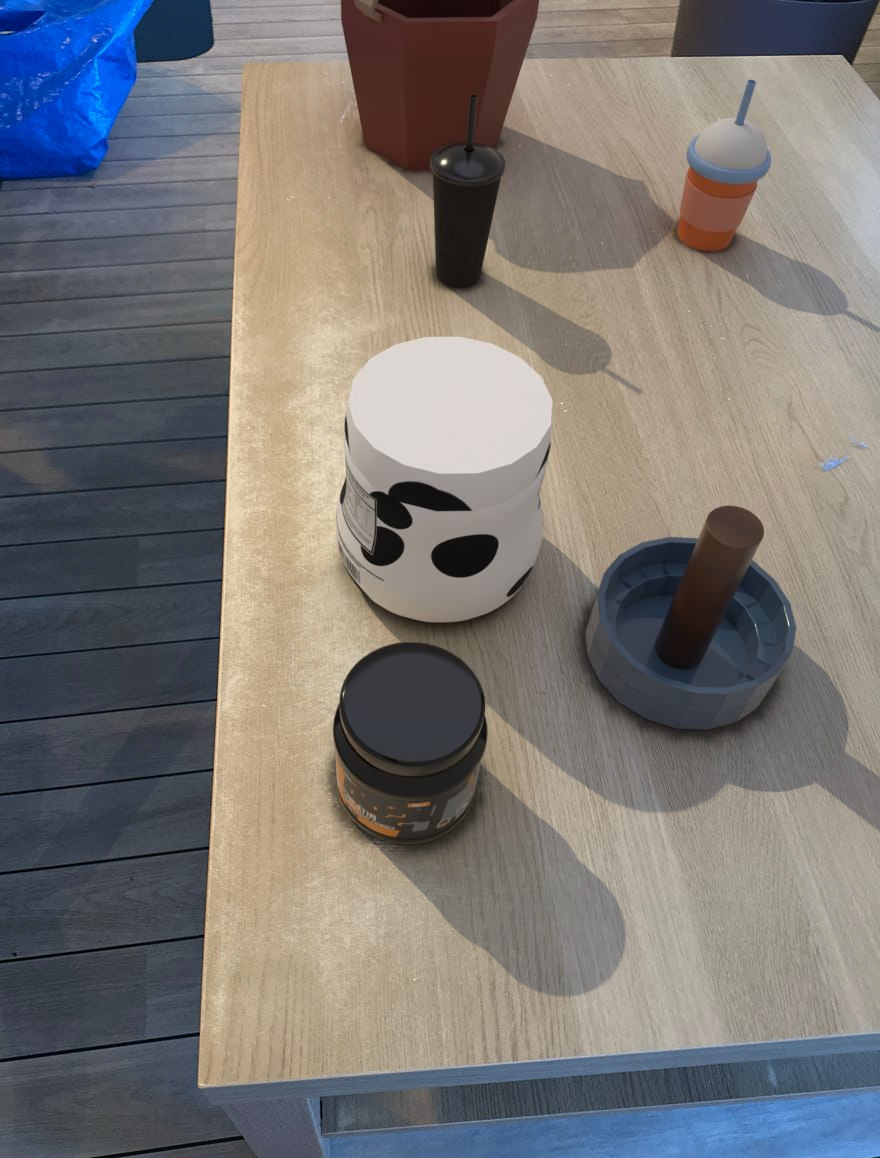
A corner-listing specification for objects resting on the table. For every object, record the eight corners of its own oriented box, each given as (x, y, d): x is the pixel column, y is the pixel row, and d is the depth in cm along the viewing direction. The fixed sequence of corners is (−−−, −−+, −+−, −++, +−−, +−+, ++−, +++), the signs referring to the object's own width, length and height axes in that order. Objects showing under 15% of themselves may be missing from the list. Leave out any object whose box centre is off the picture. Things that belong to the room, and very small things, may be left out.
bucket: (464, 84, 137) (482, -137, 117) (561, 159, 126) (599, -69, 106) (308, 127, 129) (298, -102, 108) (397, 211, 118) (405, -25, 98)
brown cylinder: (667, 622, 83) (720, 496, 71) (711, 645, 82) (773, 521, 69) (646, 653, 81) (696, 530, 69) (691, 677, 80) (750, 556, 67)
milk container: (560, 525, 90) (599, 365, 75) (492, 669, 80) (521, 518, 66) (386, 466, 93) (391, 302, 79) (302, 597, 84) (289, 439, 69)
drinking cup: (440, 252, 114) (453, 69, 97) (502, 271, 112) (525, 88, 96) (411, 288, 110) (420, 103, 93) (475, 308, 108) (495, 123, 92)
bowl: (751, 586, 86) (775, 541, 81) (785, 738, 77) (814, 698, 73) (577, 579, 86) (590, 533, 81) (591, 730, 77) (607, 689, 72)
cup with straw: (695, 209, 120) (742, 52, 106) (757, 243, 117) (814, 84, 102) (648, 237, 117) (689, 78, 102) (710, 272, 113) (762, 112, 98)
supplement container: (307, 771, 74) (299, 685, 65) (417, 700, 78) (425, 609, 69) (392, 878, 70) (398, 802, 60) (505, 797, 74) (527, 713, 64)
